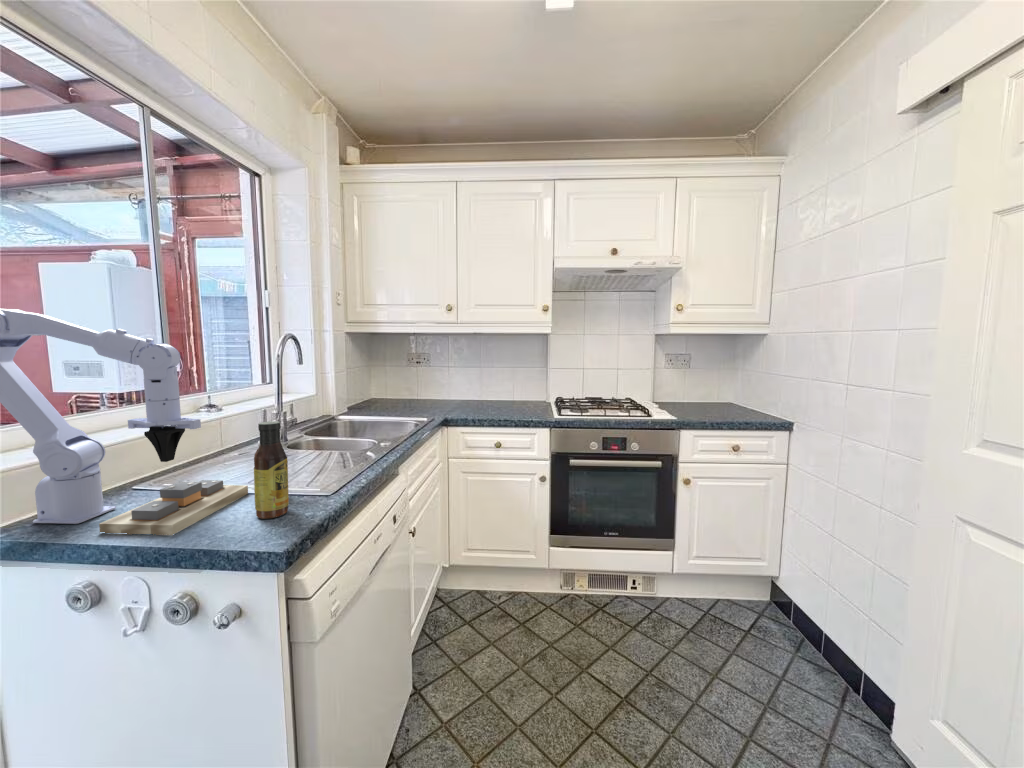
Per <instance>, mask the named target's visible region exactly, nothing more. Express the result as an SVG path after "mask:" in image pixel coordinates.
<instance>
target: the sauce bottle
mask: <svg viewBox="0 0 1024 768" xmlns="http://www.w3.org/2000/svg"><path fill="white" fill-rule="evenodd" d="M258 431H259V440H258V442H260V446H259V448H258V447H257V449H256V451H255V452H254V456H253V463H254V464H253V466H254V467H253V487H254V509H255V515H256V517H257V519H261V520H266V519H267V520H270V519H275V518H279V517H282V516H284V515H286V514H287V512H288V511H289V505H290V502H289V501H290V500H289V499H290V498H289V497H290V496H289V469H288V468H289V467H288V466H289V465H288V456H287V454H286V451H285V449H284V447H283V445H282V443H281V422H280V421H274V420H272V421H264V422H263V421H262V422H259V423H258Z"/></svg>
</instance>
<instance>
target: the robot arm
mask: <svg viewBox="0 0 1024 768" xmlns="http://www.w3.org/2000/svg"><path fill="white" fill-rule="evenodd" d="M127 333H128V331H127V330H126V329H121V328H116V330H114V329H107V330H103V331H101V332H99V331H96V330H93V329H91V328H87V327H83V326H80V325H77V324H74V323H71V322H67V321H66V320H61V319H60V318H59V319H58V318H55V317H53V316H50V315H47V314H41V313H36V312H30V311H24V310H22V309H17V308H8V309H7V308H0V404H1V405H2V406H3V407H4V408H5V409H6V411H7V412H8V413H9V414H10V415H11V416H12V417H13V418H14V419H15V420H16V421H17V422H18V423H19V425H20V426H22V428H23V429H24V430H25V431H26V433H28V434H29V435H30V436H31V437H32V439H33V440H34V447H33V450H32V453H33V454H34V456H36V458H37V460H38V461H39V468H40V470H41V472H42V473H43V474H44V475H46V476H45V477H43V478H42V479H41V480H40V481H39V482H38V483H37V485H36V486H35V491H34V496H35V505H36V513H37V514H36V515H37V519H34V520H32V523H34V524H61V525H62V524H63V525H64V524H69V525H70V524H71V525H79V524H81V523H84V522H86V521H88V520H92V519H94V518H97V517H98V516H101V515H103V514H105V513H108V512H111V511H113V510H116V509H117V507H116V506H114V505H104V498H103V497H104V496H103V486H102V485H103V484H102V474H101V467H100V462H102V461H104V458H105V456H106V448H105V446H104V444H103V443H102V442H101V441H99V440H97V439H94V438H92V437H91V436H89V435H88V434H87V433H86V432H85V431H84V430H82V429H79V428H77V427H74V426H72V425H71V424H69V422H68V421H67V420H66V419H65V418H64V417H63V416H62V415H61V413H60V412H59V411H58V410H57V409H56V408H55V407H54V405H53V404H52V403H51V402H50V401H49V400H48V399H47V398H46V396H45V395H44V394H43V393H42V392H41V391H40V390H39V388H38V387H37V386H36V385H35V384H34V383H33V382H32V381H31V380H30V378H29V377H28V376H27V375H26V374H25V372H24V371H23V370H22V369H21V368H20V367H19V366H18V365H17V364H16V363H15V361H14V358H15V356H16V354H17V352H18V350H19V349H20V348H22V347H23V345H25V344H26V343H27V342H28V341H29V340H30V339H31V338H32V337H33V336H35V337H36V336H37V337H38V336H48V337H51V338H54V339H59V340H64V341H68V342H72V343H76V344H80V345H84V346H88V347H91V348H93V350H94V351H95V352H96V354H97V355H98V356H101V357H104V358H109V359H112V360H116V361H120V362H123V363H127V364H130V365H133V366H134V365H135V366H139V367H140V368H141V369H142V371H143V374H142V375H143V387H144V388H143V390H144V401H145V414H146V417H144V418H143V417H142V418H141V417H139V418H138V417H137V418H131V419H127V428H128V429H148V430H147V431H144V432H143V433H144V436H145V437H146V438H147V440H149V442H150V443H151V445H152V446H153V448H154V450H155V452H156V453H157V457H158V458H159V460H160V462H161V463H168V462H170V461H173V460H175V457H176V456H175V455H176V453H177V448H178V445H179V443H180V440H181V438H182V436H183V435H184V433H185V431H186V429H189V430H197V429H200V428H202V425H201V423H202V422H201V419H200V418H189V417H182V412H181V402H180V401H181V400H180V397H181V396H180V386H179V385H180V384H179V377H178V365H179V363H180V362H181V353H180V351H179V350H178V349H177V348H176V347H174V346H172V345H170V344H169V343H167V342H161V343H155V340H154V338H149V337H147V338H146V339H145V338H143V337H142V338H141V337H139V336H135V335H131V334H127Z"/></svg>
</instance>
